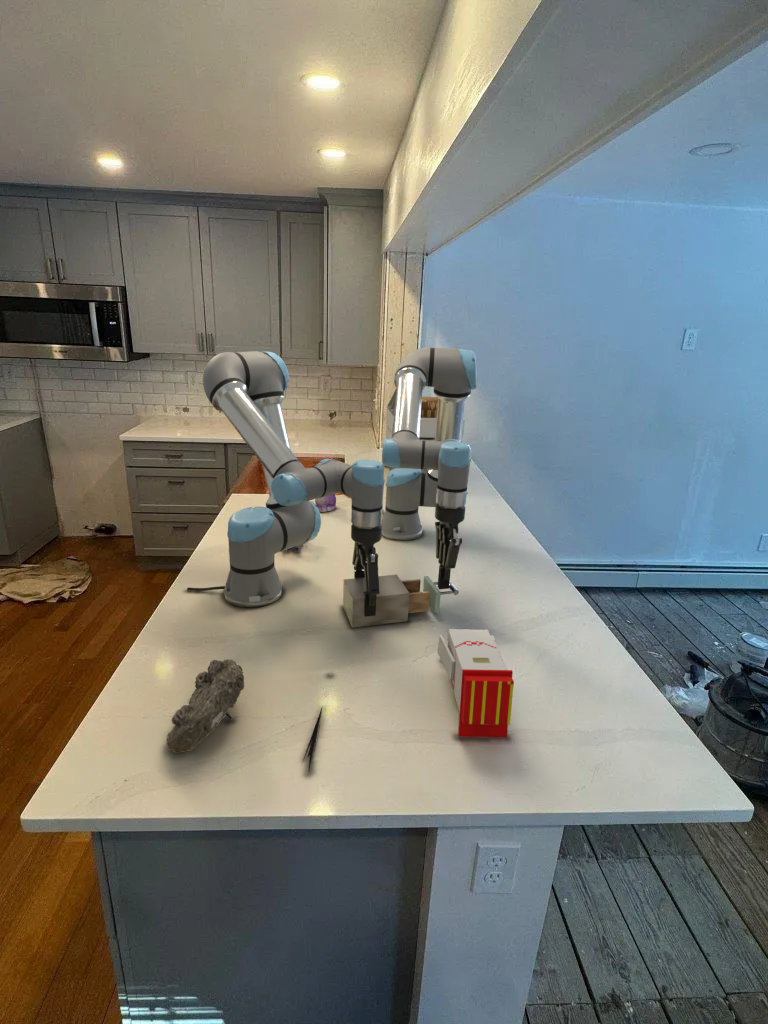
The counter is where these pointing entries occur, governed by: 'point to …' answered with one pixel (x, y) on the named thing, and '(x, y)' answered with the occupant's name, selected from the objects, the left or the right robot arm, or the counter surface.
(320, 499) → the figurine
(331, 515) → the counter surface
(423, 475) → the right robot arm
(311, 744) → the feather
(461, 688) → the toy
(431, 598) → the drawer
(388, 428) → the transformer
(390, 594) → the cabinet
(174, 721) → the fossil
